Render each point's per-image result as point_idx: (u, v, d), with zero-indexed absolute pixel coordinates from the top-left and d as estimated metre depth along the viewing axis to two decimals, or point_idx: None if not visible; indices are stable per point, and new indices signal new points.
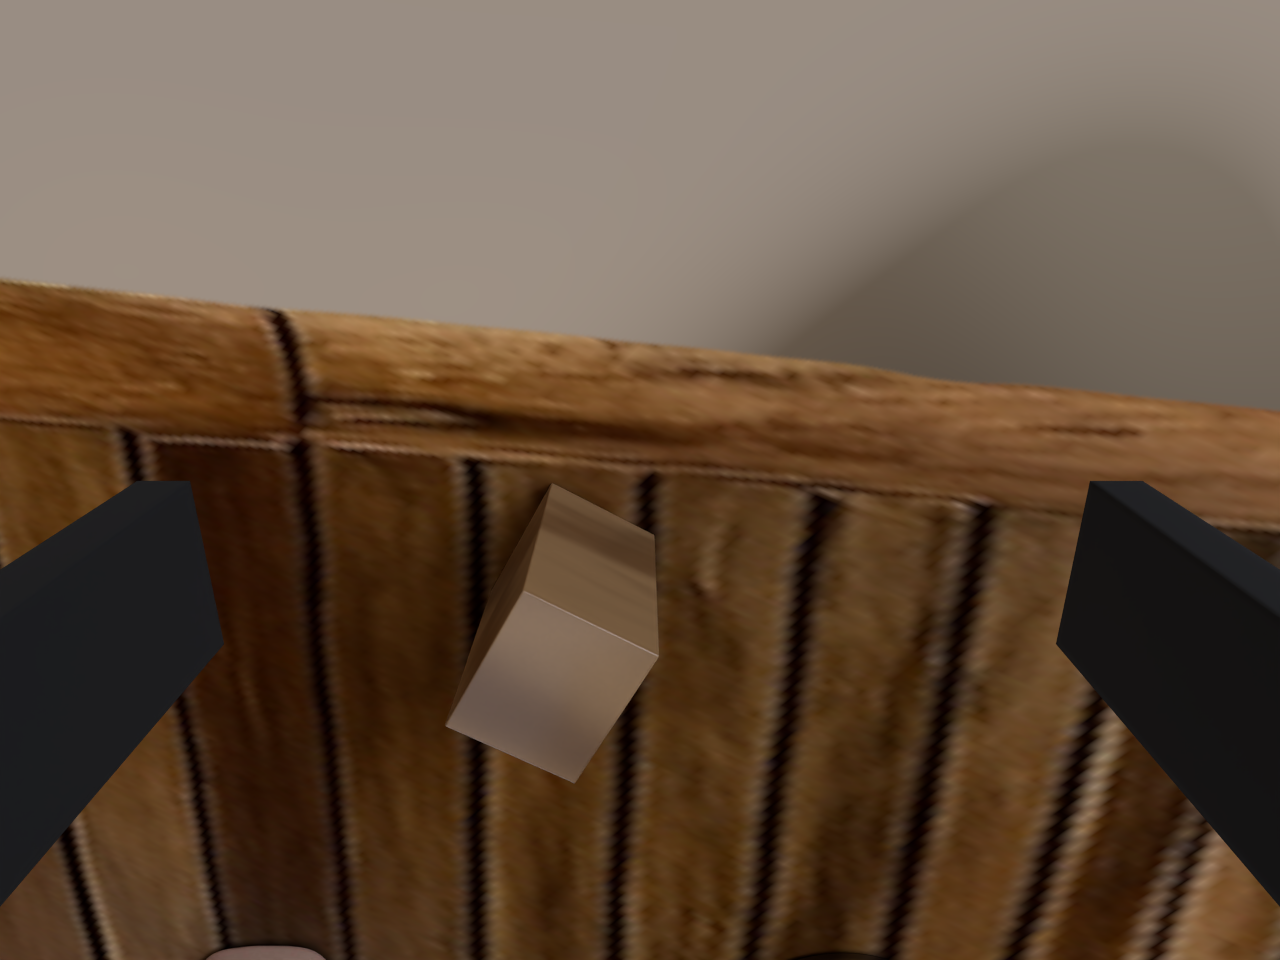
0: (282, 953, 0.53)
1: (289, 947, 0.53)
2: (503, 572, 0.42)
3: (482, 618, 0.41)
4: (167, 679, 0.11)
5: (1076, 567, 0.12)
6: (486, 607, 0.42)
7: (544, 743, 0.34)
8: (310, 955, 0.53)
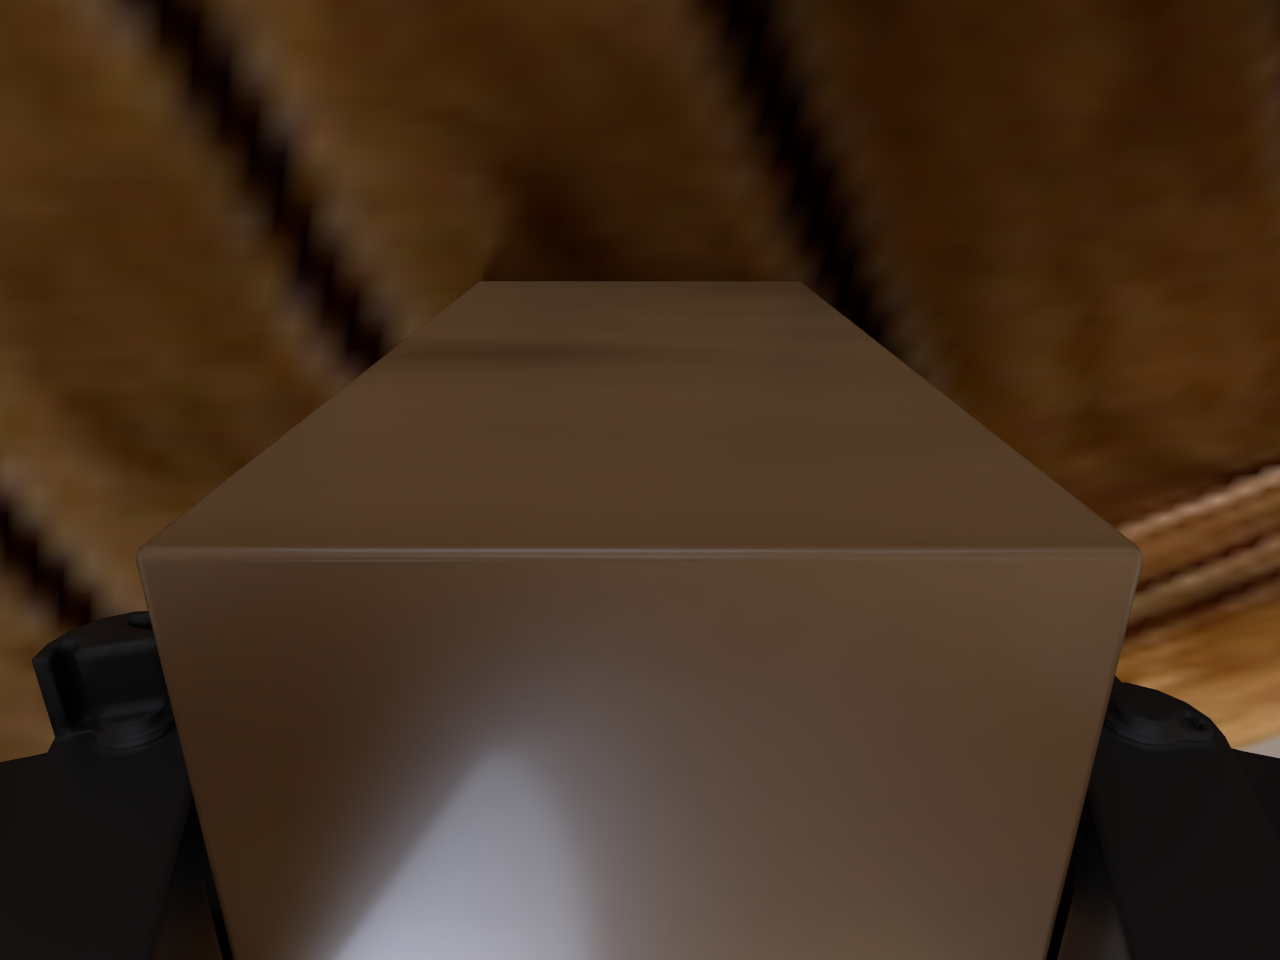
0: None
1: None
2: None
3: None
4: None
5: None
6: None
7: (490, 727, 0.05)
8: None
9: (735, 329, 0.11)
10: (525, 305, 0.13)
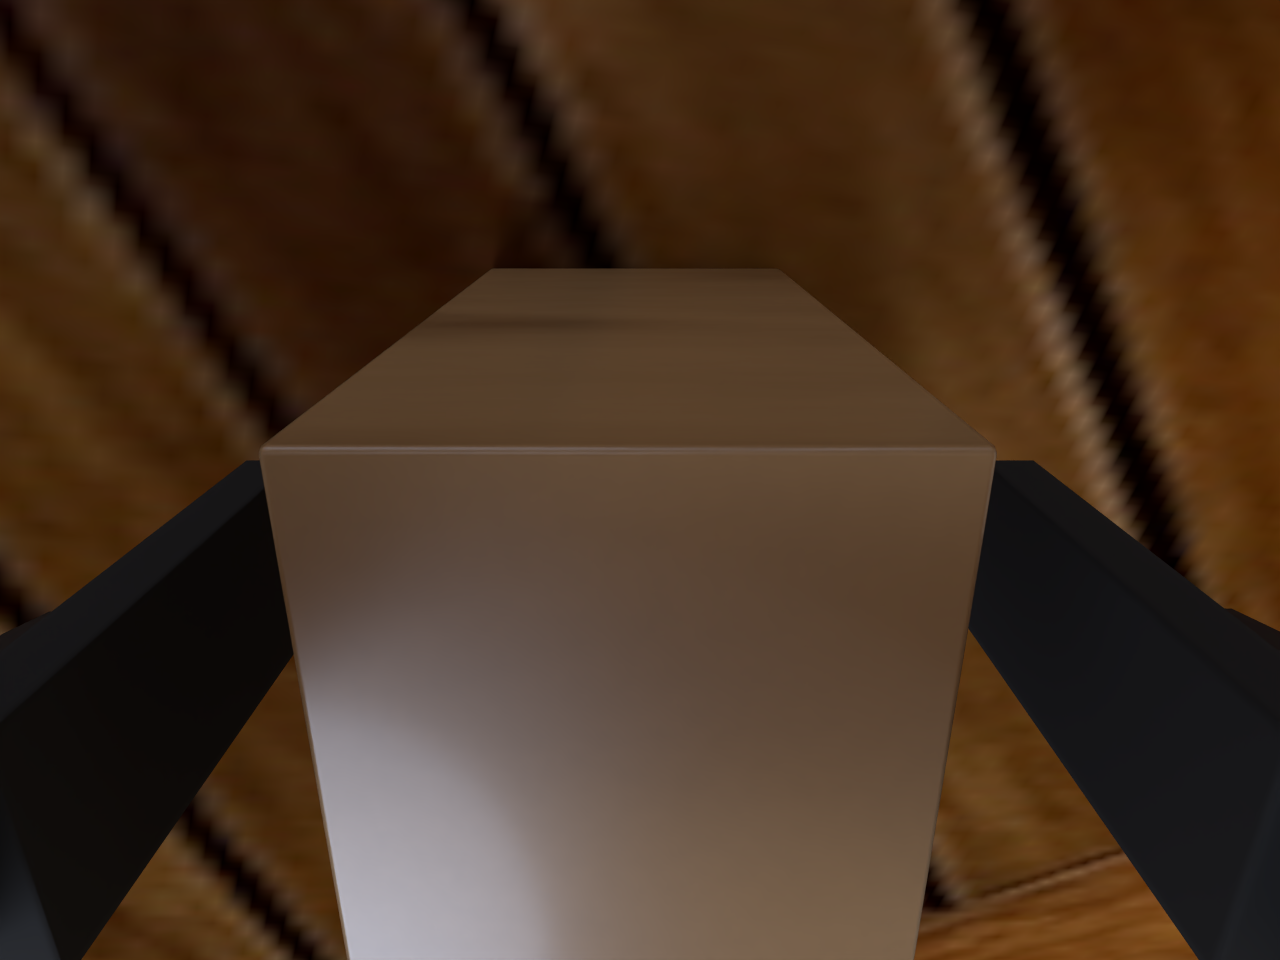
0: None
1: None
2: None
3: None
4: (280, 645, 0.12)
5: None
6: None
7: (517, 587, 0.07)
8: None
9: (716, 306, 0.13)
10: (534, 287, 0.15)
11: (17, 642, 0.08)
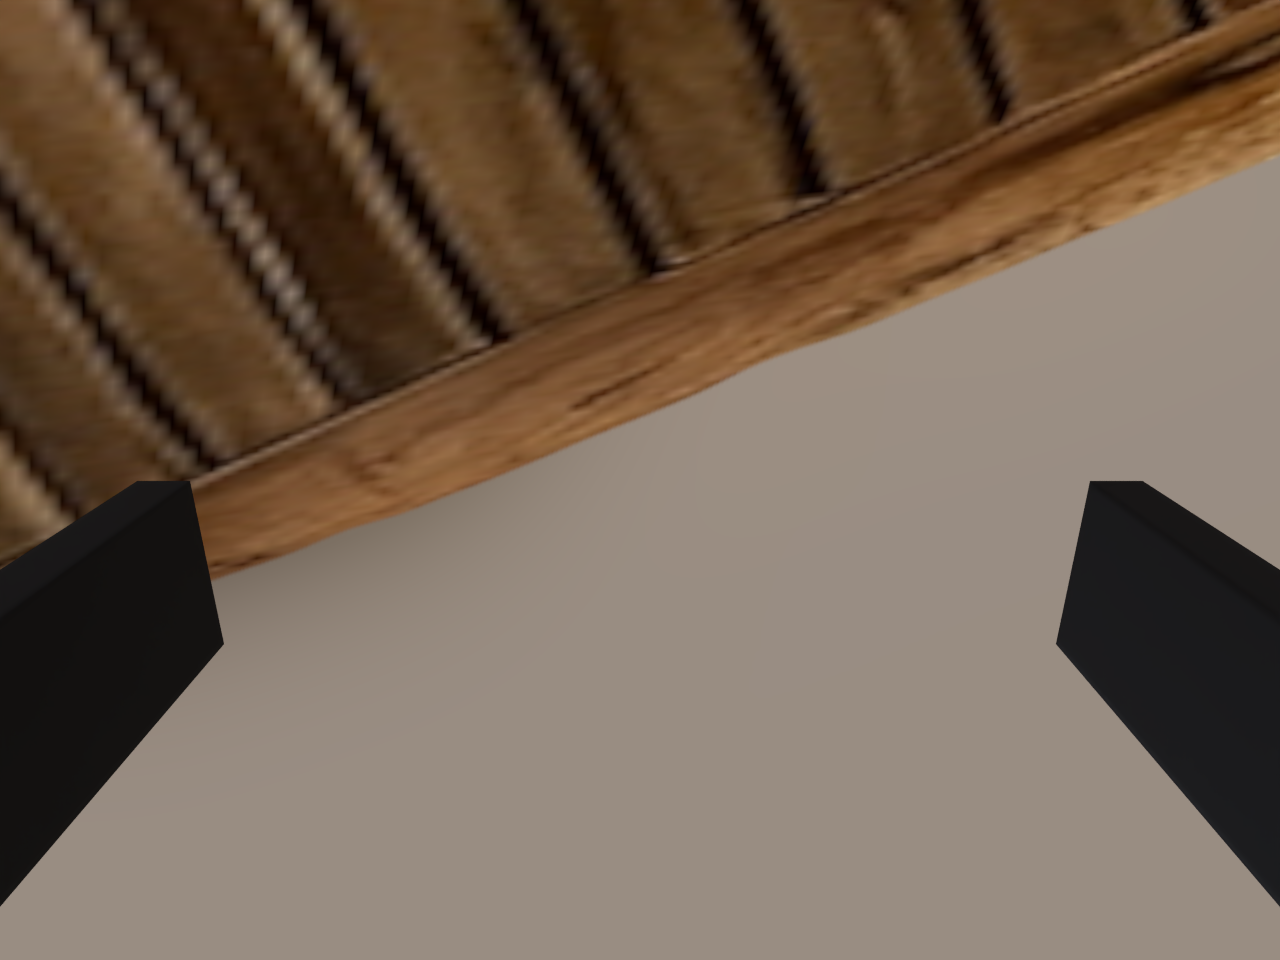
0: None
1: None
2: None
3: None
4: (168, 680, 0.11)
5: (1076, 567, 0.12)
6: None
7: None
8: None
9: None
10: None
11: None
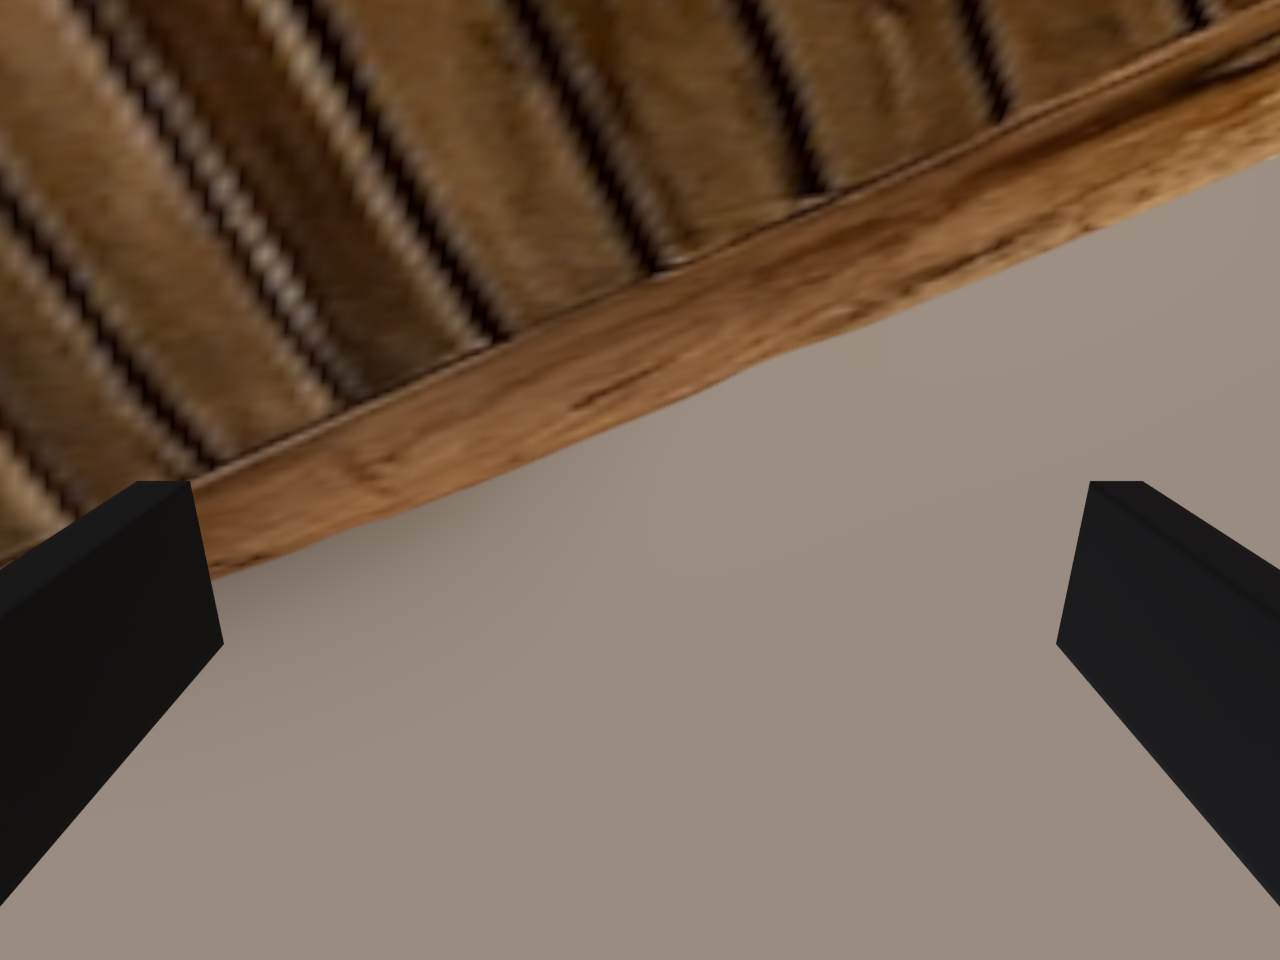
0: None
1: None
2: None
3: None
4: (168, 680, 0.11)
5: (1076, 567, 0.12)
6: None
7: None
8: None
9: None
10: None
11: None
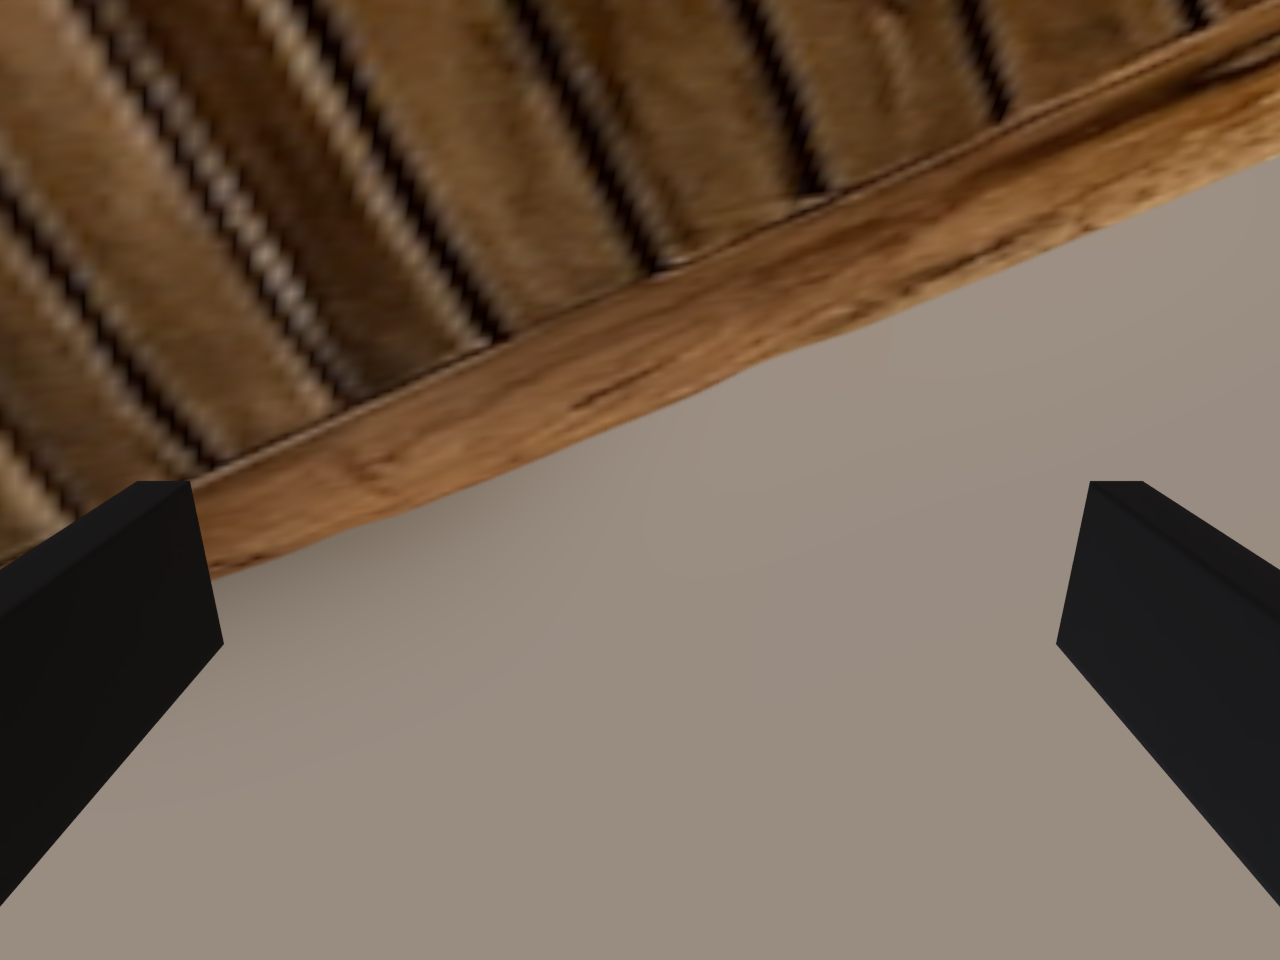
0: None
1: None
2: None
3: None
4: (168, 680, 0.11)
5: (1076, 567, 0.12)
6: None
7: None
8: None
9: None
10: None
11: None
